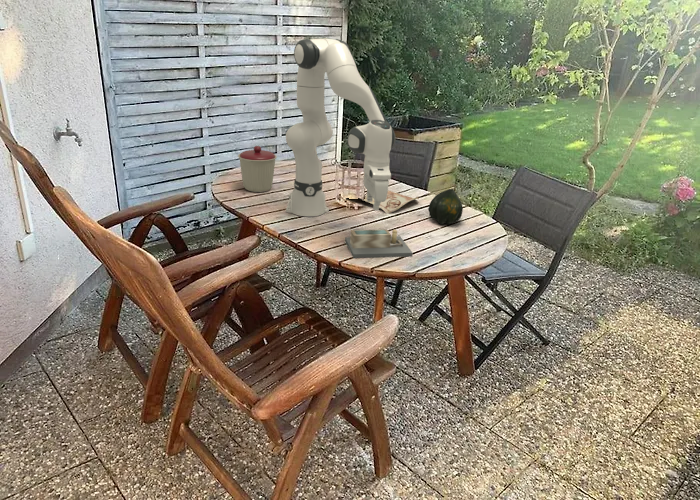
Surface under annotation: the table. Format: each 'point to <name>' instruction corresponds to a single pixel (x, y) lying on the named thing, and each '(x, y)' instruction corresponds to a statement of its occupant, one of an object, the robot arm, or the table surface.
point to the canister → (257, 169)
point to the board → (381, 249)
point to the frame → (372, 239)
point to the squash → (446, 207)
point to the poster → (392, 201)
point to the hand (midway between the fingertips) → (372, 205)
